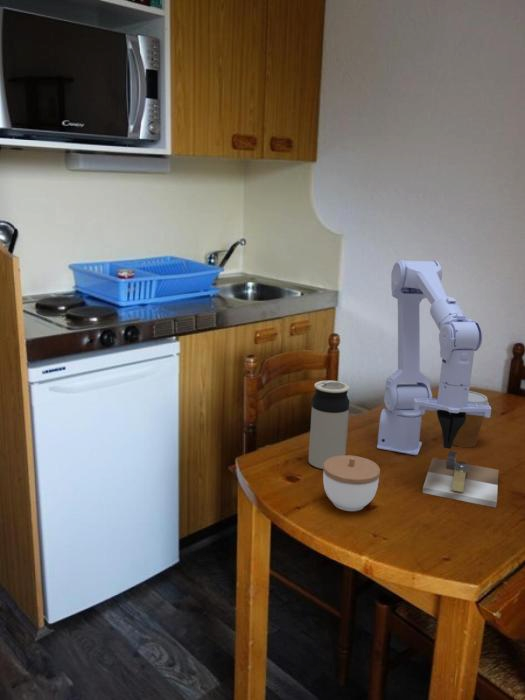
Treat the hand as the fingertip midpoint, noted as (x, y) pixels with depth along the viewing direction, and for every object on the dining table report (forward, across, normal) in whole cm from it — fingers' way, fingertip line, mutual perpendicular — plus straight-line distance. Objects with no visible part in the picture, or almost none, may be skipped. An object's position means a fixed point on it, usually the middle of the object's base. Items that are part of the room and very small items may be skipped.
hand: (446, 446), depth 124 cm
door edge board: (+9, +4, +4) cm, 11 cm away
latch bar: (+8, +3, +1) cm, 8 cm away
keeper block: (+8, +3, +10) cm, 13 cm away
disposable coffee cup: (+10, +7, +28) cm, 30 cm away
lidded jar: (+10, -18, -12) cm, 24 cm away
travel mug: (+10, -24, +6) cm, 27 cm away
